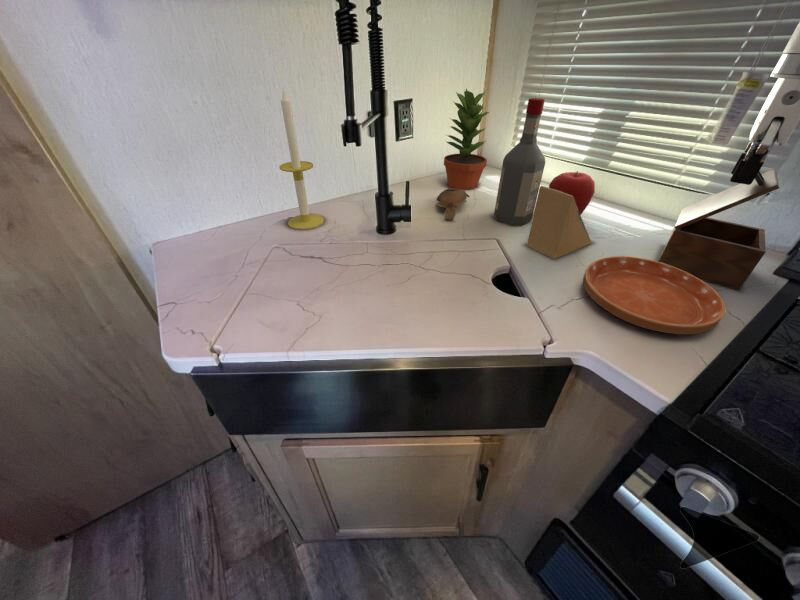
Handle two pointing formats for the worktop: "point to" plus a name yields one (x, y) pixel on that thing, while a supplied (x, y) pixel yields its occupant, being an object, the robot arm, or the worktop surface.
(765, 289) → the worktop surface
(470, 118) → the potted plant
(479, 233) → the worktop surface
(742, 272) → the bin
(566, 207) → the sandwich container
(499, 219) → the liquor
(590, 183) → the apple
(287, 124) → the candle
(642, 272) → the saucer
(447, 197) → the toy tortoise
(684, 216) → the bread lid
